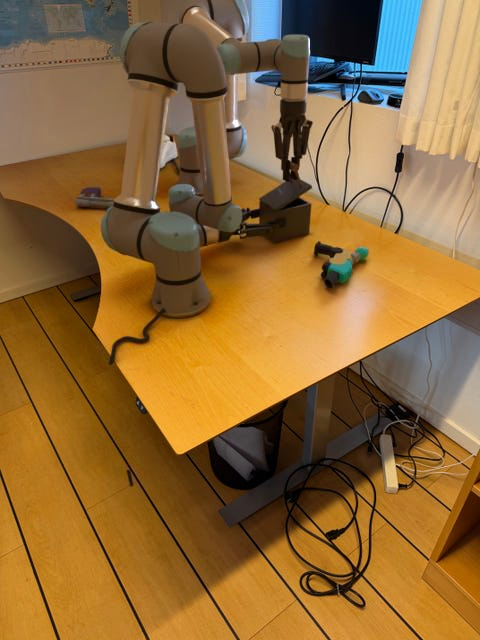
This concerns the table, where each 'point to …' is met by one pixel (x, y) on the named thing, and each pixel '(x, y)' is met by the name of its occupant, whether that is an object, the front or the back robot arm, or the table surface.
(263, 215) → the chest
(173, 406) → the table surface
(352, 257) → the toy gun
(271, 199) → the lid
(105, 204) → the toy gun
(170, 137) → the sneaker
